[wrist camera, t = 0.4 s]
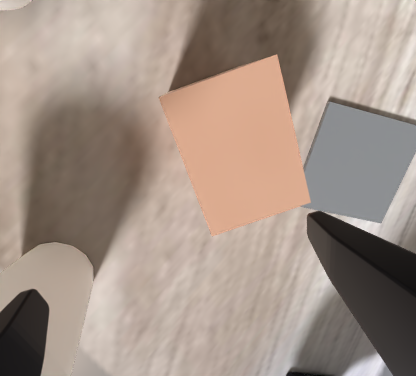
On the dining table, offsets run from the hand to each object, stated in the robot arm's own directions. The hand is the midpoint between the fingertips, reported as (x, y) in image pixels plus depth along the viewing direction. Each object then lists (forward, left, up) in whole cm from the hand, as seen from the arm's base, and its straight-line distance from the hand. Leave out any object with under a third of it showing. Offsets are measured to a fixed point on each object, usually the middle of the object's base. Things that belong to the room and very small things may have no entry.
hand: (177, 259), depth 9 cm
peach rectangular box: (+3, -3, -15) cm, 15 cm away
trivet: (+2, -15, -15) cm, 21 cm away
